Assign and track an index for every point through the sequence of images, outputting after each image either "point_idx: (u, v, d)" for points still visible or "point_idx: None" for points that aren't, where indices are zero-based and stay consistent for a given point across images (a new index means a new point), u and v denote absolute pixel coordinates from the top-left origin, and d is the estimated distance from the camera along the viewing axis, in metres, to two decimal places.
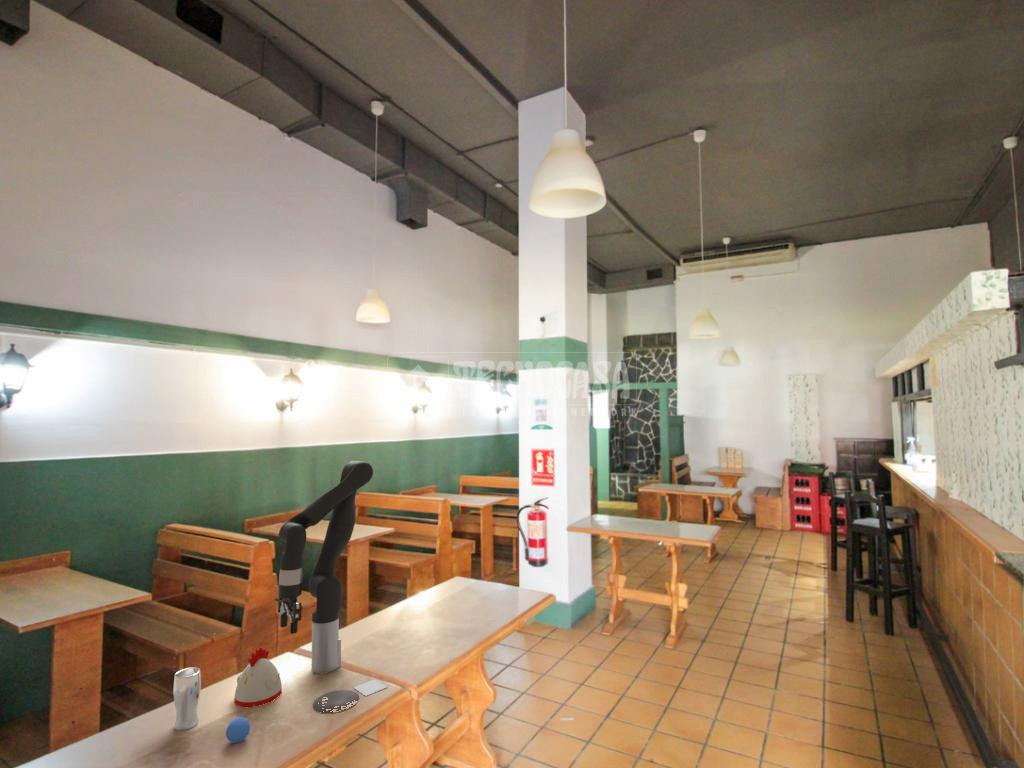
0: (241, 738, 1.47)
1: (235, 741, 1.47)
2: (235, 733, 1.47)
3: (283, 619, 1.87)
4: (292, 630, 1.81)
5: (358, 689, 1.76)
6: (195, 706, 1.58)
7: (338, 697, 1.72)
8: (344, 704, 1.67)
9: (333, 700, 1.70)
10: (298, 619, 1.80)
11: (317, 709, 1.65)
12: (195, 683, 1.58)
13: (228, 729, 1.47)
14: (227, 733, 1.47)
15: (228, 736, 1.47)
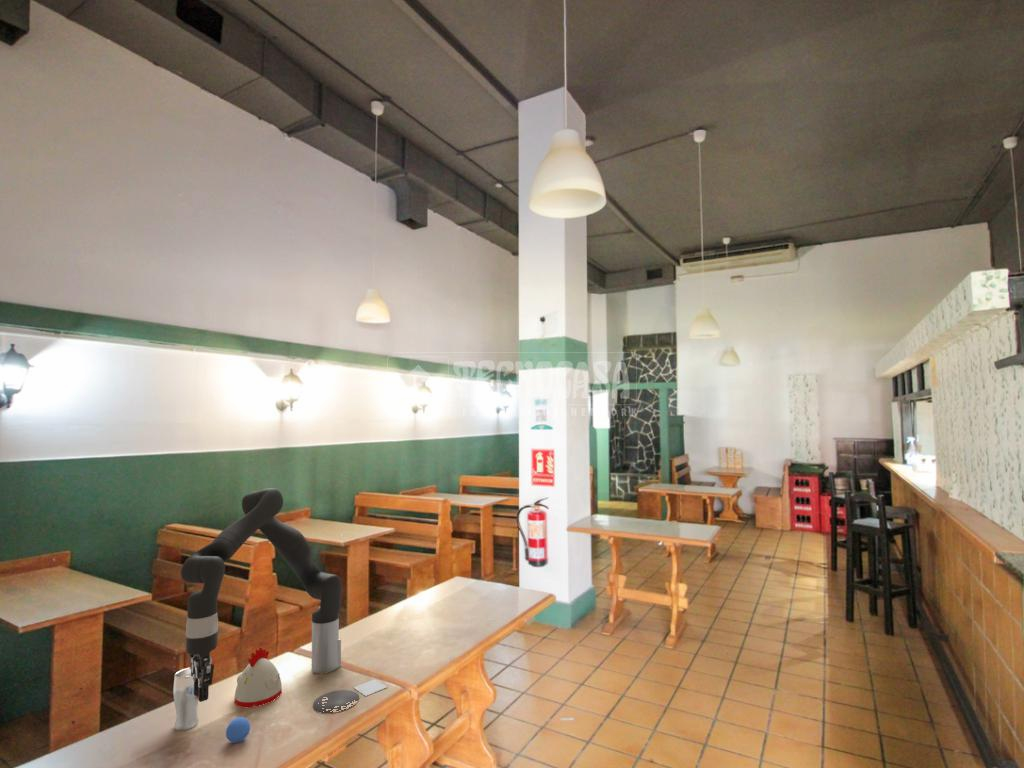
0: (241, 738, 1.47)
1: (235, 741, 1.47)
2: (235, 733, 1.47)
3: (197, 685, 1.45)
4: (201, 697, 1.41)
5: (358, 689, 1.76)
6: (195, 706, 1.58)
7: (338, 697, 1.72)
8: (344, 704, 1.67)
9: (333, 700, 1.70)
10: (208, 683, 1.41)
11: (317, 709, 1.65)
12: None
13: (228, 729, 1.47)
14: (227, 733, 1.47)
15: (228, 736, 1.47)
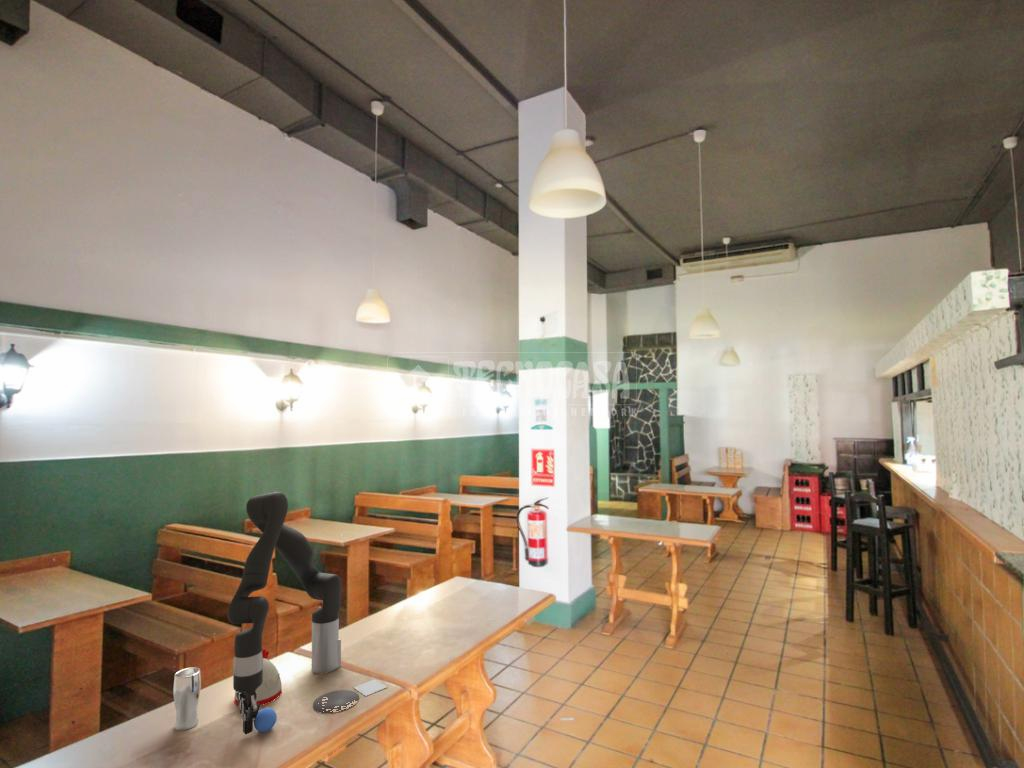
0: (264, 723, 1.51)
1: (264, 717, 1.52)
2: (272, 718, 1.53)
3: None
4: (246, 730, 1.50)
5: (358, 689, 1.76)
6: (195, 706, 1.58)
7: (338, 697, 1.72)
8: (344, 704, 1.67)
9: (333, 700, 1.70)
10: (252, 717, 1.50)
11: (317, 709, 1.65)
12: (195, 683, 1.58)
13: (274, 711, 1.56)
14: (272, 710, 1.55)
15: (271, 711, 1.54)
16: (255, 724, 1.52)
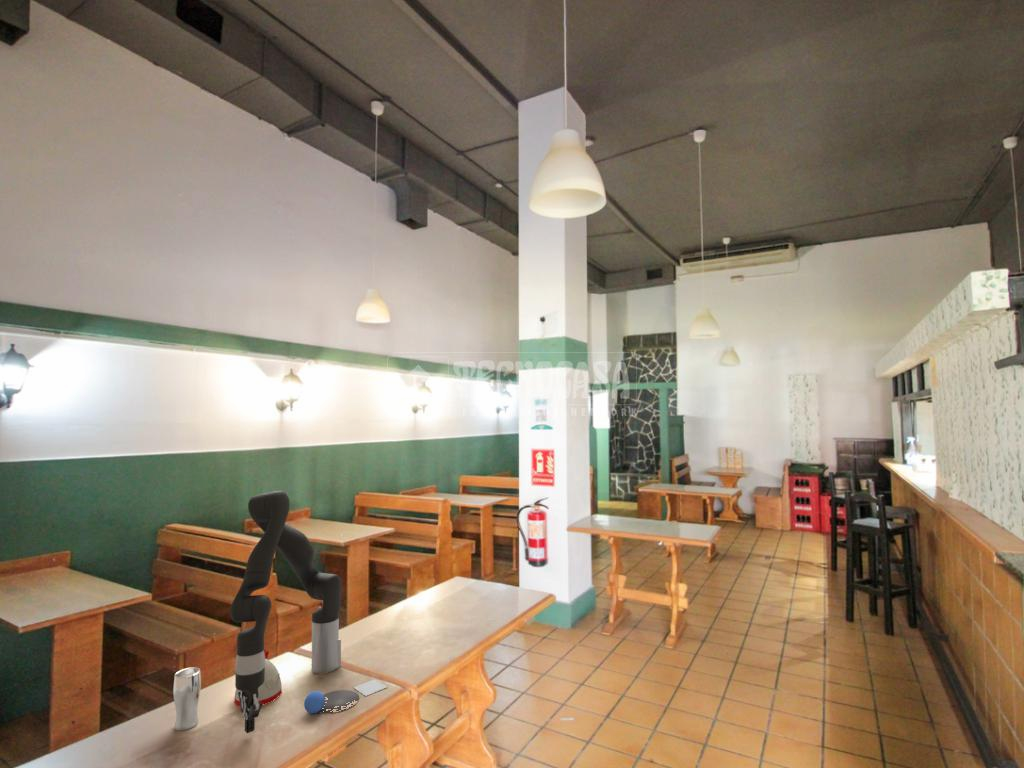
0: (316, 709, 1.61)
1: (310, 709, 1.61)
2: (315, 701, 1.61)
3: None
4: (248, 729, 1.50)
5: (358, 689, 1.76)
6: (195, 706, 1.58)
7: (338, 697, 1.72)
8: (344, 704, 1.67)
9: (333, 700, 1.70)
10: (254, 716, 1.50)
11: None
12: (195, 683, 1.58)
13: (310, 695, 1.62)
14: (308, 698, 1.62)
15: (308, 701, 1.61)
16: None
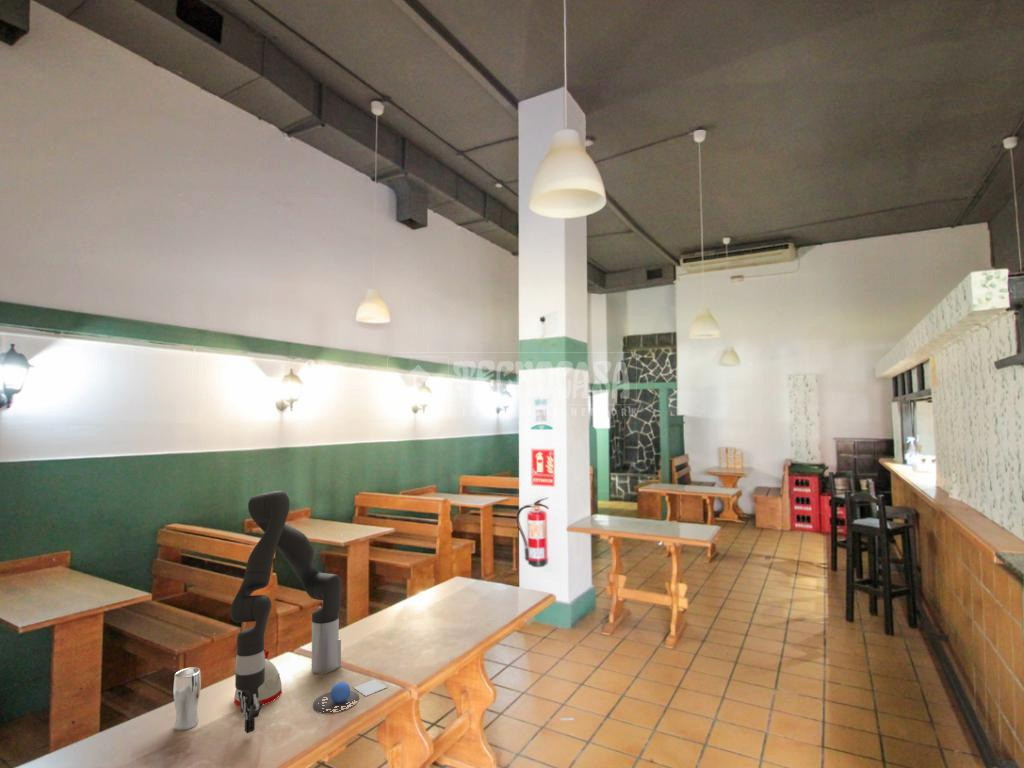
0: (344, 691, 1.67)
1: (347, 688, 1.69)
2: (347, 697, 1.68)
3: None
4: (248, 729, 1.50)
5: (358, 689, 1.76)
6: (195, 706, 1.58)
7: None
8: (344, 704, 1.67)
9: None
10: (254, 716, 1.50)
11: (317, 709, 1.65)
12: (195, 683, 1.58)
13: None
14: None
15: None
16: (339, 685, 1.68)
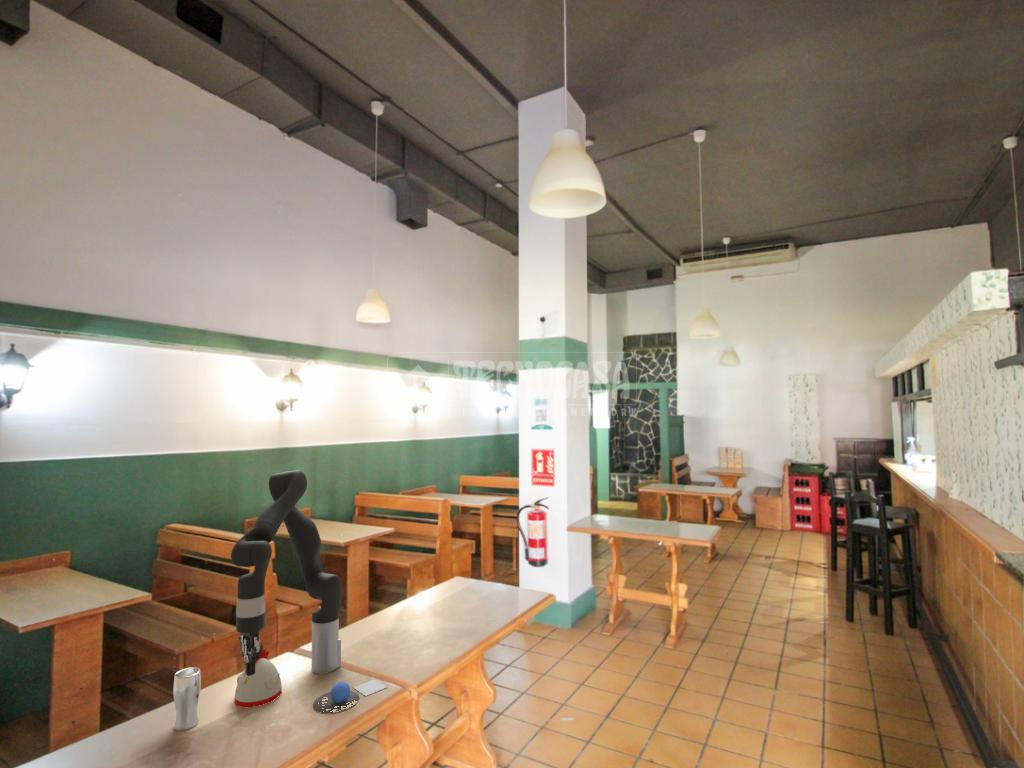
0: (344, 691, 1.67)
1: (347, 688, 1.69)
2: (347, 697, 1.68)
3: None
4: (249, 671, 1.51)
5: (358, 689, 1.76)
6: (195, 706, 1.58)
7: None
8: (344, 704, 1.67)
9: None
10: (255, 658, 1.51)
11: (317, 709, 1.65)
12: (195, 683, 1.58)
13: None
14: None
15: None
16: (339, 685, 1.68)
